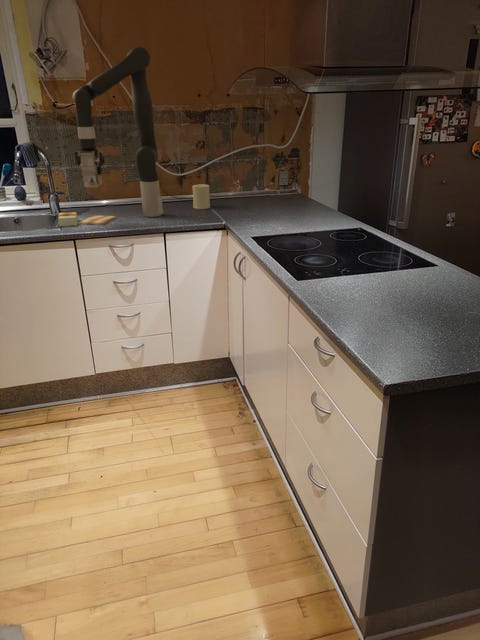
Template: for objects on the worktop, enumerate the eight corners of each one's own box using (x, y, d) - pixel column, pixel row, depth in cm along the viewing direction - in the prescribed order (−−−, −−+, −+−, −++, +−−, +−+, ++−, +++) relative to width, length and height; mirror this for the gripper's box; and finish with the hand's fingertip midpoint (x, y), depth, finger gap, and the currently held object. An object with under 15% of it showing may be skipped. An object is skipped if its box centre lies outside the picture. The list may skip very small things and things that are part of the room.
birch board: (115, 218, 244) (115, 216, 243) (103, 225, 231) (103, 222, 231) (93, 217, 246) (93, 215, 246) (80, 224, 234) (79, 222, 233)
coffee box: (90, 184, 236) (85, 149, 229) (103, 183, 236) (98, 148, 229) (84, 187, 228) (78, 151, 221) (97, 187, 227) (92, 151, 221)
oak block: (77, 220, 242) (76, 212, 240) (76, 222, 239) (74, 213, 237) (61, 220, 241) (59, 212, 240) (59, 222, 238) (57, 214, 236)
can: (189, 207, 264) (188, 185, 259) (201, 204, 270) (200, 182, 265) (201, 209, 259) (200, 186, 253) (213, 206, 265) (212, 184, 260)
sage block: (77, 223, 236) (76, 215, 234) (76, 225, 232) (75, 217, 230) (60, 224, 234) (59, 216, 232) (59, 226, 231) (58, 218, 229)
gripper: (105, 136, 224) (109, 173, 231) (76, 136, 227) (82, 173, 234) (97, 138, 218) (102, 176, 225) (68, 138, 220) (74, 175, 228)
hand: (92, 174), depth 229 cm, fingers closed on coffee box, 7 cm apart
